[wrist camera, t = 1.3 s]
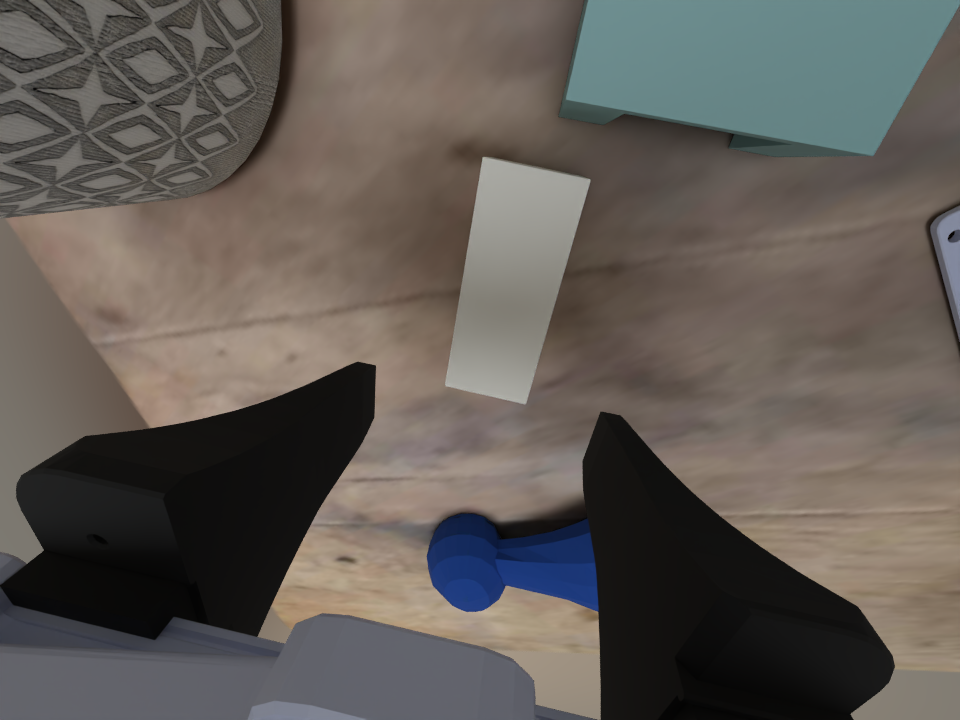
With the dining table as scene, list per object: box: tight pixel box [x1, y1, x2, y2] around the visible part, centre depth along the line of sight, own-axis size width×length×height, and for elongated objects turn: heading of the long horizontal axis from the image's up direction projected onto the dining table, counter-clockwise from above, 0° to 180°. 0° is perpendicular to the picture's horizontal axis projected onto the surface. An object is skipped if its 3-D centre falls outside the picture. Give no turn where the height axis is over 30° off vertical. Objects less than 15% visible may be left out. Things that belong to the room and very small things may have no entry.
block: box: [559, 0, 960, 157], centre depth 13 cm, size 6×9×5 cm, turn 80°
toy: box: [427, 514, 598, 612], centre depth 26 cm, size 7×6×15 cm
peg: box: [445, 157, 591, 404], centre depth 18 cm, size 10×4×4 cm, turn 169°
